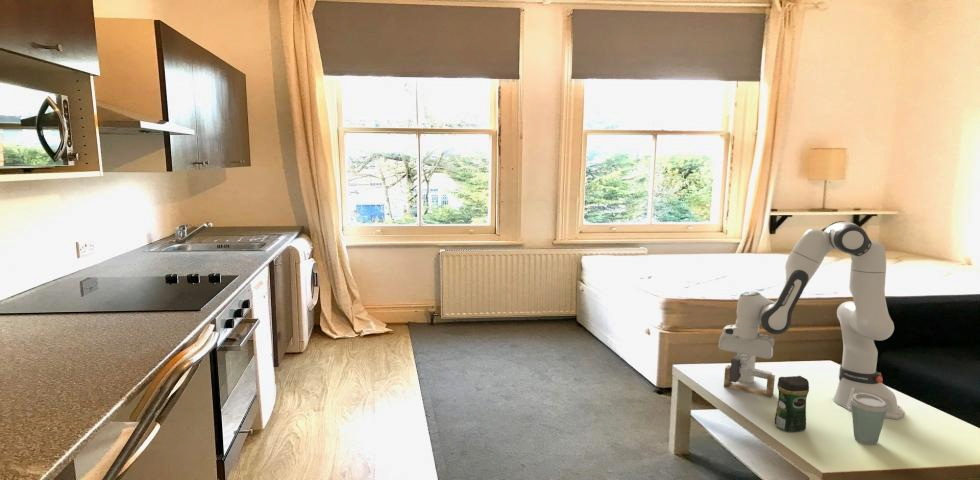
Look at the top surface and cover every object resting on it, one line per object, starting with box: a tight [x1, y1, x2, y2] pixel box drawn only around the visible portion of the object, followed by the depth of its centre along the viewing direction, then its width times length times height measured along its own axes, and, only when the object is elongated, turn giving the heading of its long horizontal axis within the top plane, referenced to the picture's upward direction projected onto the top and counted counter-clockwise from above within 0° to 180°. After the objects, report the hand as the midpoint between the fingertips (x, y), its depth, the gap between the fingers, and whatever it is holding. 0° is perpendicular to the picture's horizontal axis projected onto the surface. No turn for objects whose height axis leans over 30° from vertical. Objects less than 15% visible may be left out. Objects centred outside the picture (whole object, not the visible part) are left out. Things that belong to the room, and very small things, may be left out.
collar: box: [730, 354, 742, 383], centre depth 234 cm, size 2×8×9 cm, turn 144°
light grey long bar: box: [728, 363, 773, 380], centre depth 231 cm, size 16×3×3 cm, turn 54°
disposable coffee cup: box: [850, 393, 888, 446], centre depth 190 cm, size 11×11×15 cm
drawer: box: [723, 364, 776, 398], centre depth 231 cm, size 18×4×8 cm, turn 54°
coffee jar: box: [774, 375, 810, 433], centre depth 199 cm, size 10×8×19 cm
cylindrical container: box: [736, 353, 757, 383], centre depth 242 cm, size 7×7×25 cm
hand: (743, 364), depth 232 cm, fingers closed
